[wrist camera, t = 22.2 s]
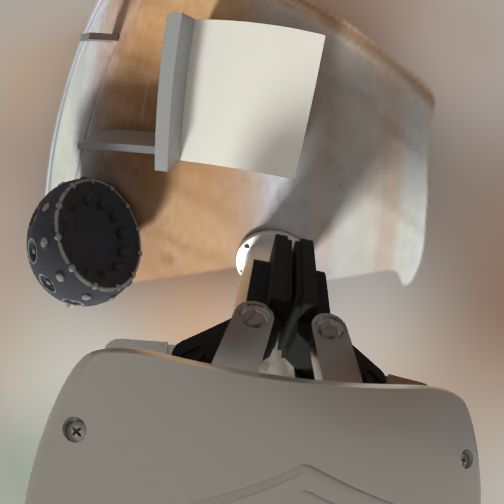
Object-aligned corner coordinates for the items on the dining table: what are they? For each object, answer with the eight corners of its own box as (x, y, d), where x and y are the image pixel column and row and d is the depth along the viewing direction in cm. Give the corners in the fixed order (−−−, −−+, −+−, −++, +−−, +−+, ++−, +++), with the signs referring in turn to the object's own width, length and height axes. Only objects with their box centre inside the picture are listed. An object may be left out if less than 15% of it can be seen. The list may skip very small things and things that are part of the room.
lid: (294, 176, 32) (295, 193, 28) (171, 156, 32) (154, 170, 28) (324, 36, 22) (331, 29, 18) (185, 20, 22) (167, 13, 18)
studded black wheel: (105, 152, 40) (22, 210, 24) (162, 245, 50) (114, 329, 34) (70, 179, 44) (-2, 238, 28) (123, 260, 54) (75, 334, 38)
